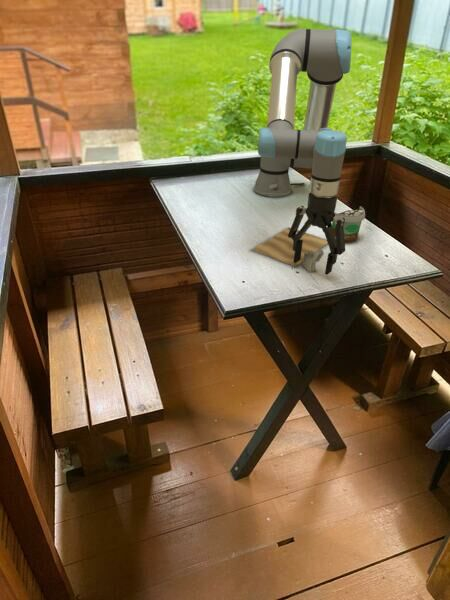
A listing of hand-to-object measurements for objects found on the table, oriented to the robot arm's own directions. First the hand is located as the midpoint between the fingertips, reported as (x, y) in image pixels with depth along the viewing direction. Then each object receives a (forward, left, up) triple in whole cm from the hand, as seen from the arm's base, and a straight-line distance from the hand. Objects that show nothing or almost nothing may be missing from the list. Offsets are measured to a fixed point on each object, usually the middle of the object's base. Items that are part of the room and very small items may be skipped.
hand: (312, 266), depth 130 cm
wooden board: (-10, -13, -1) cm, 16 cm away
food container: (-26, -1, -2) cm, 26 cm away
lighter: (0, 0, -2) cm, 2 cm away
